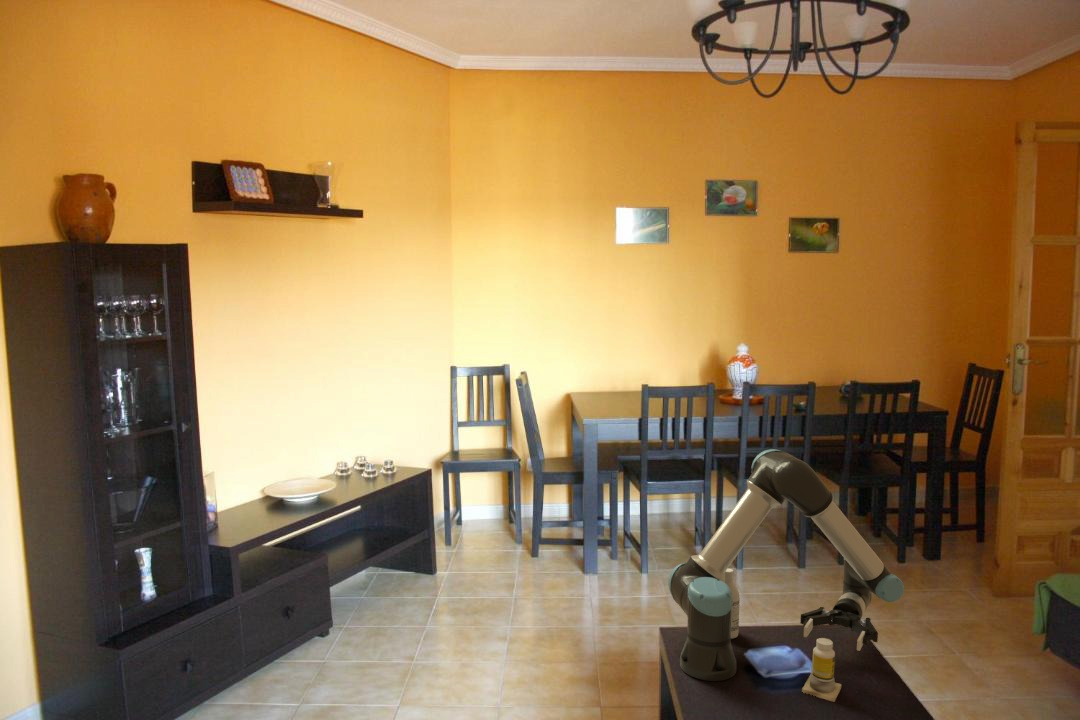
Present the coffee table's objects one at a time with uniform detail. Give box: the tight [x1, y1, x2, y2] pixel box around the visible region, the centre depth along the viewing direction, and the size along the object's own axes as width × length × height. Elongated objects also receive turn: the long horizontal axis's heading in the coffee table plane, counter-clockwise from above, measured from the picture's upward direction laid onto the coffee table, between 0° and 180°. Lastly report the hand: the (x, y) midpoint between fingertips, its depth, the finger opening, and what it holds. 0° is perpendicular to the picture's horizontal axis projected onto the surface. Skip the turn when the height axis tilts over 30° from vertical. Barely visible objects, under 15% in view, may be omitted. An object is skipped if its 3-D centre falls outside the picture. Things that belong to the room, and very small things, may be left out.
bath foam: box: [724, 567, 741, 640], centre depth 229 cm, size 7×7×20 cm
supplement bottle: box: [811, 637, 836, 682], centre depth 198 cm, size 5×5×10 cm
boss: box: [801, 672, 842, 703], centre depth 199 cm, size 8×8×4 cm
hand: (831, 638), depth 204 cm, fingers open, 13 cm apart
